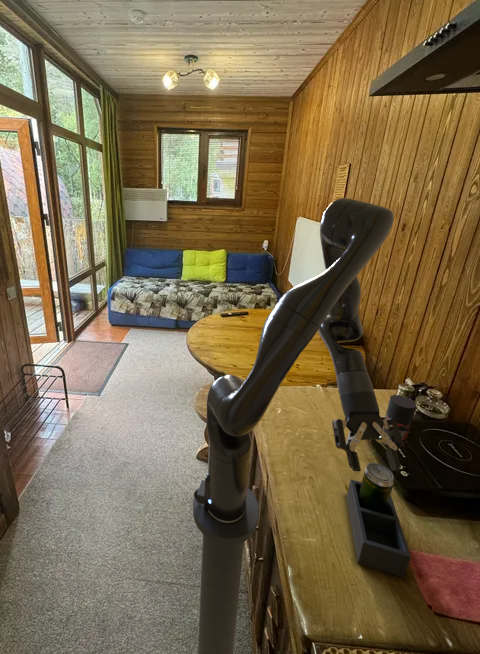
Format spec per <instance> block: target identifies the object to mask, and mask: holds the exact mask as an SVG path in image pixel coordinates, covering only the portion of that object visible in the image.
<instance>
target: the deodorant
mask: <svg viewBox="0 0 480 654" xmlns="http://www.w3.org/2000/svg"><path fill="white" fill-rule="evenodd" d="M416 407H417V404H416V403H415V402H414V400H412V399H411V398H409V397H407V396H405V395H400V394H392V395H390V397H389V401H388V405H387V409H386V413H385V415H384V416H385V417H384V420H385V419H390V418H394V419H395V420H396V422H397V425H398V428H399V431H400V433H401V436H402V439H403V440H405V439H406V440H407V437H408V434H409V431H410V428H411V424H412V420H413V416H414V413H415V410H416ZM382 430H383V431H384V432H385V433H386V434H387V435H388V436H389V434H388V431H387V429H386V428H385V427H384V426H383V429H382Z"/></svg>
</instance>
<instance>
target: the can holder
mask: <svg viewBox="0 0 480 654" xmlns="http://www.w3.org/2000/svg"><path fill="white" fill-rule="evenodd" d="M361 483H362V481H359V480H355V479H350V480H349V485H348V489H347V493H346V496H345V497H346V503H347V509H348V514H349V520H350V521H349V522H350V527H351V532H352V538H353V543H354V549H355V554H356V561H357V564H360V565H362V566H366V567H368V568H372V569H375V570H378V571H381V572H385V573H388V574H391V575H394V576H397V577H401V578H405V576H406V573H407V570H408V567H409V564H410V561H411V558H412V555H411V553H410V549H409V547H408V543H407V540H406V537H405V534H404V532H403V528H402V525H401V523H400V518H399V516H398V514H397V510H396V507H395V504H394V501H393V498H392V494H391V495H390V498H389V501H388V505H387V508H386V512H385V514H383V513H379V512H375V511H372V510H368V509H364V508H361V507H360V504H359V500H358V495H359V491H360V487H361Z"/></svg>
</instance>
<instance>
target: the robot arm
mask: <svg viewBox="0 0 480 654" xmlns="http://www.w3.org/2000/svg"><path fill="white" fill-rule="evenodd" d="M394 222H395V215H394V213H393V211H392V210H391V209H389V208H387V207H385V206H381V205H377V204H374V203H369V202H366V201H361V200H358V199H354V198H348V197H339V198H337V199H335V200H333V201H332V202H331V203H330V204H329V205H328V207H326V210H325V211H324V212H323V215H322V217H321V220H320V224H319V225H320V226H319V239H320V245H321V250H322V257H323V265H324V268H325V269H324V271H322V272H321V273H319V274H317V275H316V276H313V277H312V278H309V279H307V280H306V281H303V282H301V283H299V284H297V285H296V286H294V287H292V288H290V289H288V290H287V291H286V292H285V293H284V294H282V295H281V296H280V298H279V299H278V301H277V302H276V304H275V305H274V306H273V308H272V310H271V311H270V313H269V315H268V316H267V317H266V319H265V321H264V323H263V326H262V329H261V334H260V337H259V342H258V347H257V353H256V356H255V361H254V363H253V366H252V368H251V369H250V372H249V374H247V376H246V378H245V379H244V380H243V379H242V378H241V377H240V376H238V375H235V374H224V375H222V376H219V377H218V378H217V379H215V380H214V382H213V383H211V385H210V387H209V389H208V392H207V396H206V432H207V437H208V458H207V459H208V461H207V472H206V475H205V478H204V480H203V479H201V480H200V484H199V486H198V488H199V489H198V488H197V489H196V490H194V492H193V498H194V497H195V499H196V500H197V502H198V503H201V504H204V511H206V512H208V513H209V514H210V516H211V517H212V518H213V519H214V520H216V521H217V522H219V523H222V524H234V523H236V522H238V521H240V520H241V519H242V518H243V516H244V514H245V511H246V497H247V490H248V488H249V486H248V485H249V474H250V465H251V457H252V456H251V454H252V445H253V442H252V441H253V440H252V436H251V433H250V432H252V431H253V430H254V429H255V428H256V427H257V425H258V424H259V423H260V421H262V418H263V417H264V415H265V414H266V412H267V410H268V408H269V406H270V404H271V403H272V401H273V399H274V397H275V395H276V393H277V392H278V390H279V388H280V386H281V385H282V383H283V381H285V378H286V377H287V376H288V374H289V372H290V371H291V369H292V368H293V366H294V365H295V363H296V361H297V360H298V359H299V357H300V356H301V354H302V353H303V352H304V350H305V349H306V347H308V345H309V344H310V343H311V341H312V339H314V337H315V336H316V334H317V333H318V335H319V337H320V339H321V342H322V343H323V344H324V346H325V347H326V350H327V352H328V353H329V356H330V358H331V361H332V365H333V369H334V373H335V378H336V387H337V392H338V395H339V400H340V404H341V408H342V412H343V415H344V419H341V418H337V419H333V420H332V421H331V425H332V431H333V438H334V443H335V447H336V449H339V450H343V451H344V452H345V454H346V458H347V462H348V467H349V468H350V469H352V471H353V472H361V471H362V469H361V465H360V460H359V456H358V452H357V451H356V449H357V447H358V444H360V442H361V441H367V440H368V441H373V440H375V441H376V442H377V443H379V445H380V444H381V445H382V446H383V447H384V448H385V450H386V451H385V454H386V458H387V462H388V466H389V470H390V471H393V472H394V471H395V472H396V471H400V470H401V465H402V464H401V461H400V457H399V453H397V449H399V448H401V447H404V448H405V445H404V442H403V439H402V436H401V433H400V431H399V428H398V425H397V422H396V420H395V419H394V418H390V419H385V418H384V419H382V417H381V416H380V407H379V403H378V400H377V397H376V393H375V390H374V386H373V382H372V380H371V378H370V374H369V373H368V368H367V365H366V361H365V358H364V355H363V352H362V351H361V350H360V349H357V348H352V347H345V346H342V345H341V344H340V343H348V342H349V343H350V342H356V341H358V340H359V339H360V338H361V337H362V336H363V334H364V327H363V324H362V320H361V317H360V310H359V309H360V303H361V298H362V288H361V283H360V280H359V277H358V275H359V274H360V272H361V271H362V270H363V269H364V268H365V267H366V266H367V265H368V263H369V262H370V261H371V259H372V258H373V257H374V256H375V255H376V253H377V252H378V251H379V249H380V248H381V247H382V245H383V244H384V243H385V241H386V239H387V238H388V237H389V234H390V233H391V230H392V228H393V225H394ZM383 426H384V427H385V428H386V429H387V431H388V434H389V436H388V435H387V434H386V433H385V432H384V431H383V430H382V429H383ZM346 428H347V429H348V431H349V433H348V435H347V438H346V436H345V429H346ZM381 445H380V446H381ZM382 446H381V447H382ZM383 447H382V448H383ZM384 448H383V449H384Z"/></svg>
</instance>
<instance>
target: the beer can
mask: <svg viewBox="0 0 480 654" xmlns="http://www.w3.org/2000/svg"><path fill="white" fill-rule="evenodd" d="M394 479H395V476H394V474H393V472H392V470H391V469H390V468H388V467H387V466H385V465H383V464H382V463H378V462H370V463H368V464H367V465H366V467H365V468H364V471H363V475H362V480H361V482H362V483H361V487H360V491H359V495H358V500H359V504H360V507H361V508H364V509H368V510H372V511H375V512H379V513H383V514H385V512H386V508H387V505H388V501H389V498H390V495H391V496H392V491H393V488H394V484H395V480H394Z"/></svg>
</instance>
